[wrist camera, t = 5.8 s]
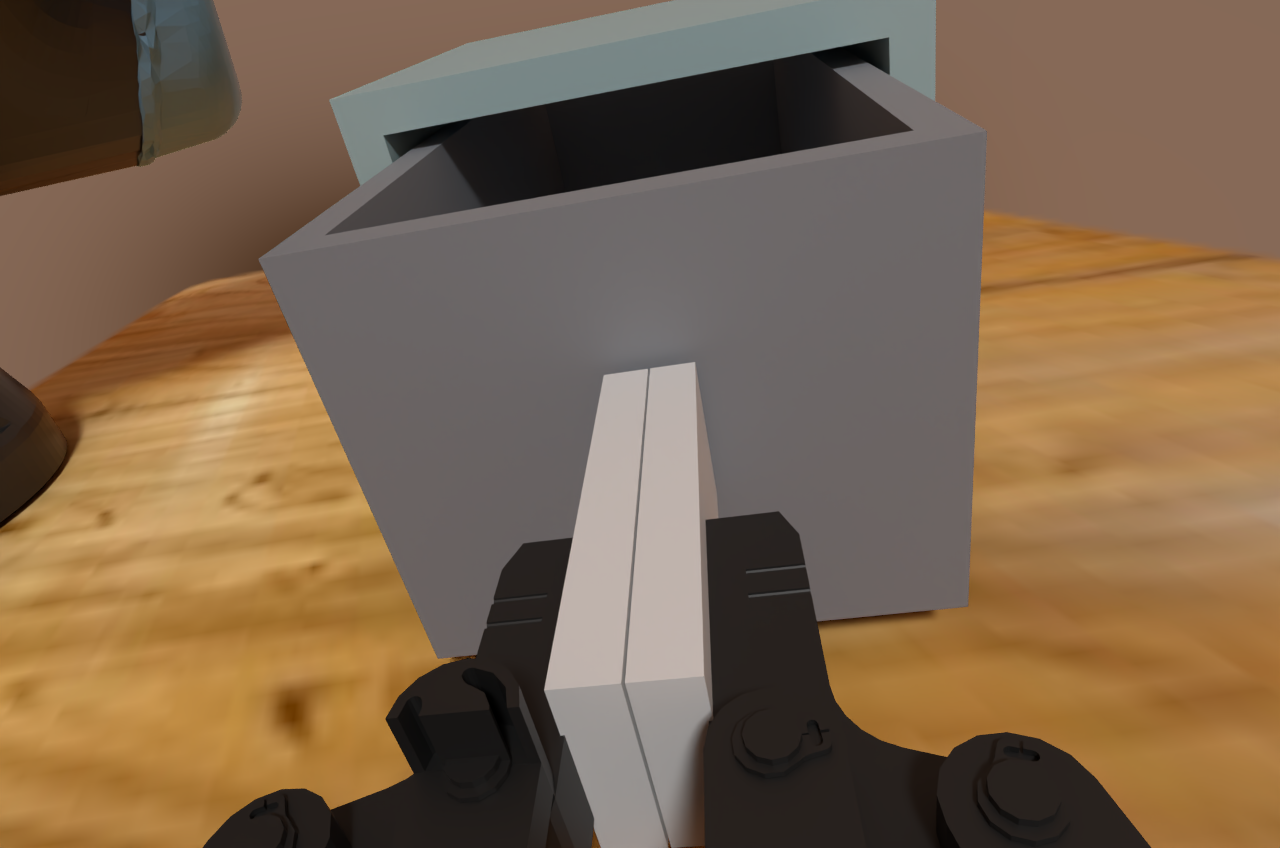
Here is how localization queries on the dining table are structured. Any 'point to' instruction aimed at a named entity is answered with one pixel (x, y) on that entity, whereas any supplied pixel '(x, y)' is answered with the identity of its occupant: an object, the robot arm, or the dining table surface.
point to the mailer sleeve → (625, 62)
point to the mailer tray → (662, 323)
